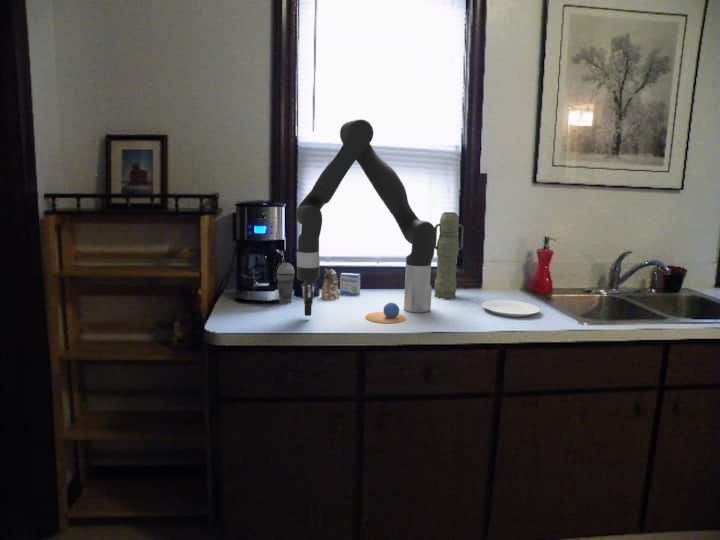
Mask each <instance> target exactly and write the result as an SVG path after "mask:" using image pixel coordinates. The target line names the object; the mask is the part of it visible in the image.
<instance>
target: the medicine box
mask: <svg viewBox="0 0 720 540" xmlns="http://www.w3.org/2000/svg"><path fill="white" fill-rule="evenodd" d="M340 294H346V295H345V296H355V295H358V296H359V295H360V294H361V273H349V272H342V273H340V277H339V295H340Z"/></svg>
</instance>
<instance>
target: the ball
mask: <svg viewBox="0 0 720 540" xmlns="http://www.w3.org/2000/svg"><path fill="white" fill-rule="evenodd" d="M382 312H384V314H385V316H386V317H388V318H391V319H392V318H395V317H397V316H398V314H400V308H399V305H397V304H396V303H395V302H388V303H387V304H385V305H384V306H383V311H382Z"/></svg>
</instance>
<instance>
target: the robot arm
mask: <svg viewBox="0 0 720 540" xmlns="http://www.w3.org/2000/svg"><path fill="white" fill-rule="evenodd" d="M339 137H340V141H341V143H342V146H341V147H340V149H339V151H337V154H336V155H335V156H334V158H333V159H331V161H330V162H329V163H328V164H327V166H326V167H325V168H324V169H323V170H322V172H321V173H320V175H319V176H318V178H317V180H316V182H314V185H313V186H312V189H311V190H310V191H309V193H308V194H307V195H306V196H305V197H304V199H303V200H302V201H301V202H300V204H299V206H298V207H297V208H296V212H295V219H296V221H297V222H298V223H299V224H300V225H301V228H300V229H301V231H300V234H299V236H298V238H297V256H296V279H298V280H299V281H303V283H302V284H301V288H302V289H301V290H302V298H303V304H304V316H305V317H311V316H312V305H313V302H314V295H315V294H314V291H315V284H314V283H313V281H317V280H319V279H320V272H321V271H320V268H321V265H320V263H321V262H320V261H321V257H320V236H321V231H322V227H323V226H322V225H323V214H322V211H321V210H322V208H323V206H324V205H327V204H328V203H329V202H330V201H331V199H332V198H333V196H334V195H335V194H336V191H337V190H338V188H339V186H340V185H341V183H342V181H343V179H344V178H345V176H346V174H347V173H348V171H349V170H350V169H351V167H352V166H353V165H354V163H355V162H357V164H358V165H359V166H360V167H361V169H362V171H363V173H364V174H365V176H366V178H367V179H368V181H369V182H370V184H371V185H372V187H373V188H374V191H375V192H376V193H377V195H378V197H379V198H380V200H381V201H382V202H383V203H384V205H385V206H386V208H387V209H388V212H390V214H391V215H392V217H393V219H394V220H395V222H396V224H397V225H398V228H399V229H400V231H401V234H402V236H403V238H404V239H405V240H406V241H407V242H408V243H409V244H411V251H410V253H409V254H407V256H406V258H405V274H404V275H405V276H404V277H405V279H404V298H403V299H404V302H403V309H404V310H405V311H406V312H409V313H418V314H419V313H426V312H431V311H432V310H431V309H432V308H431V307H432V292H433V291H432V289H433V287H432V284H431V275H432V260H433V259H434V255H435V250H436V249H435V239H436V233H435V228H434V227H435V225H433V224H432V223H431V222H429V221H426V220H421V219H419V217H418V216H417V215H416V214H415V212H414V211H413V209H412V207H411V205H410V204H409V199H408V194H407V190H406V188H405V187H406V186H404V184H403V181H401V179H400V177H399V175H398V174H397V172H396V171H395V170H394V169H393V168H392V167H391V165H389V164H388V163H387V162H386V161H385V160H384V159H383V158H382V157H381V156H379V154H378V153H377V151H376V150H375V149H374V148H373V145H372V144H371V142H372V141H373V137H374V129H373V126H372V124H371V123H370V122H369V121H368V120H366V119H362V118H359V119H353V120H349V121H346V122H345V123H343V125H341V128H340V130H339Z"/></svg>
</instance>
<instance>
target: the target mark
mask: <svg viewBox="0 0 720 540" xmlns="http://www.w3.org/2000/svg"><path fill="white" fill-rule="evenodd" d="M365 319H366V320H367V321H369V322H371V323H372V322H373V323H377V324H378V323H379V324H385V325H386V324H387V325H388V324H400V323H402V322H405V321H406V319H407V318H406V316H405V315H403V314H400V313H399V314H398V316H397V317H395V318H392V319H391V318H388V317H386V316H385V314H384V311H379V312H378V311H377V312H371V313H368V314H365Z"/></svg>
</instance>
